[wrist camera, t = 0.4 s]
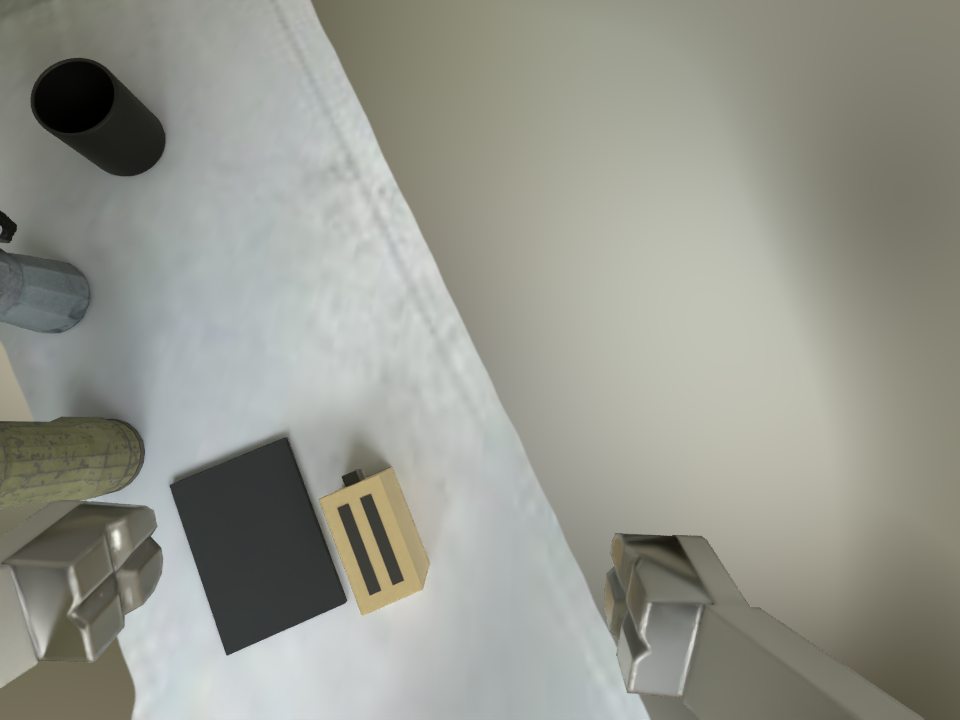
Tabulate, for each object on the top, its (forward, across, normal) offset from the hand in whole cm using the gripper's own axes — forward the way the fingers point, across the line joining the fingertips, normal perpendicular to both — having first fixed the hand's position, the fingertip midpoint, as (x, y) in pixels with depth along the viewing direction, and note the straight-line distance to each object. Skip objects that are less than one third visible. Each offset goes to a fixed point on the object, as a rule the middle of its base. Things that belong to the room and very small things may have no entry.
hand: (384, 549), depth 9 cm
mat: (+40, -23, -33) cm, 57 cm away
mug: (+61, -46, +11) cm, 77 cm away
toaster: (+41, -8, -31) cm, 52 cm away
